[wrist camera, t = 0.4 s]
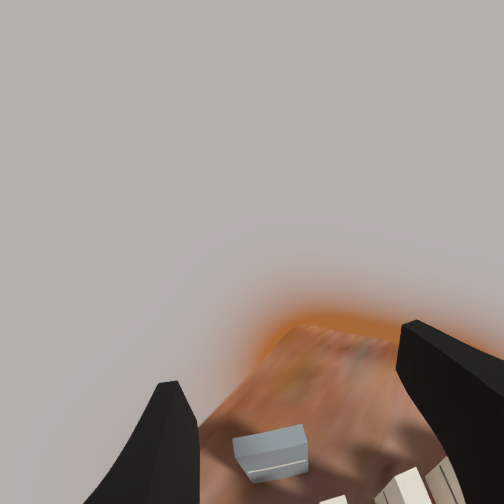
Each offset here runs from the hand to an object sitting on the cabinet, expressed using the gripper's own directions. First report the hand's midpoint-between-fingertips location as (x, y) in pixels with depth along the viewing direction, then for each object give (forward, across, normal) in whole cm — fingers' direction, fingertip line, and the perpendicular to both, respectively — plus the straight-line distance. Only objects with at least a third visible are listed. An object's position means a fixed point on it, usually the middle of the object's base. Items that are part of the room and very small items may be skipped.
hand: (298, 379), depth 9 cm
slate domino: (+7, +2, +20) cm, 21 cm away
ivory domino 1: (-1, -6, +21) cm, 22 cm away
